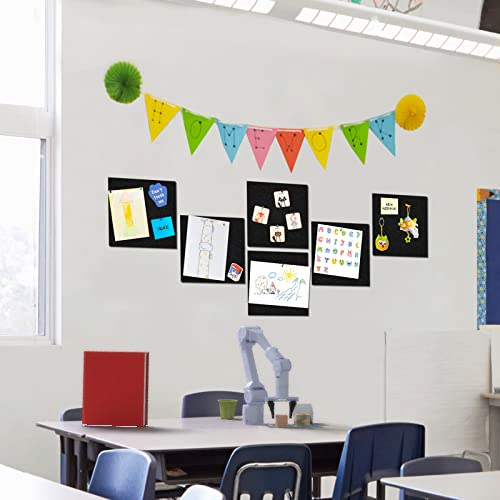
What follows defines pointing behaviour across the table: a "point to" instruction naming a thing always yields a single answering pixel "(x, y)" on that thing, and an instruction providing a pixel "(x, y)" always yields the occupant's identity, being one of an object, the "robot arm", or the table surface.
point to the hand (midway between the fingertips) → (281, 418)
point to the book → (115, 388)
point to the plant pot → (227, 408)
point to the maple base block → (301, 419)
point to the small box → (304, 410)
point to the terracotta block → (281, 421)
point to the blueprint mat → (294, 426)
